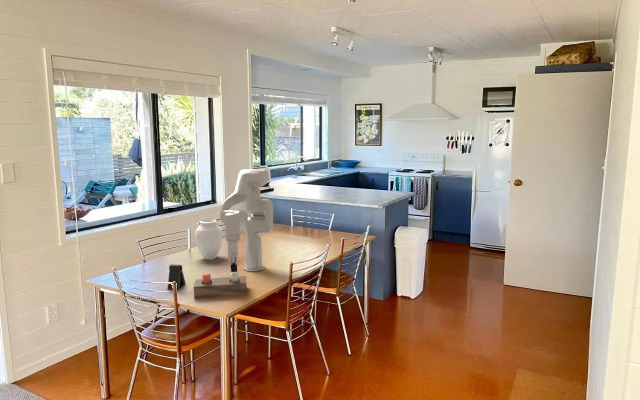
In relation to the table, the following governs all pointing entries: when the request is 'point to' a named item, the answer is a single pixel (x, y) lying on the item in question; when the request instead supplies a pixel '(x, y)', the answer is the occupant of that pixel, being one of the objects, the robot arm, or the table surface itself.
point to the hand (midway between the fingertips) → (234, 271)
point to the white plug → (234, 276)
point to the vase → (208, 238)
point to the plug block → (220, 287)
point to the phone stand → (176, 276)
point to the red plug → (206, 278)
